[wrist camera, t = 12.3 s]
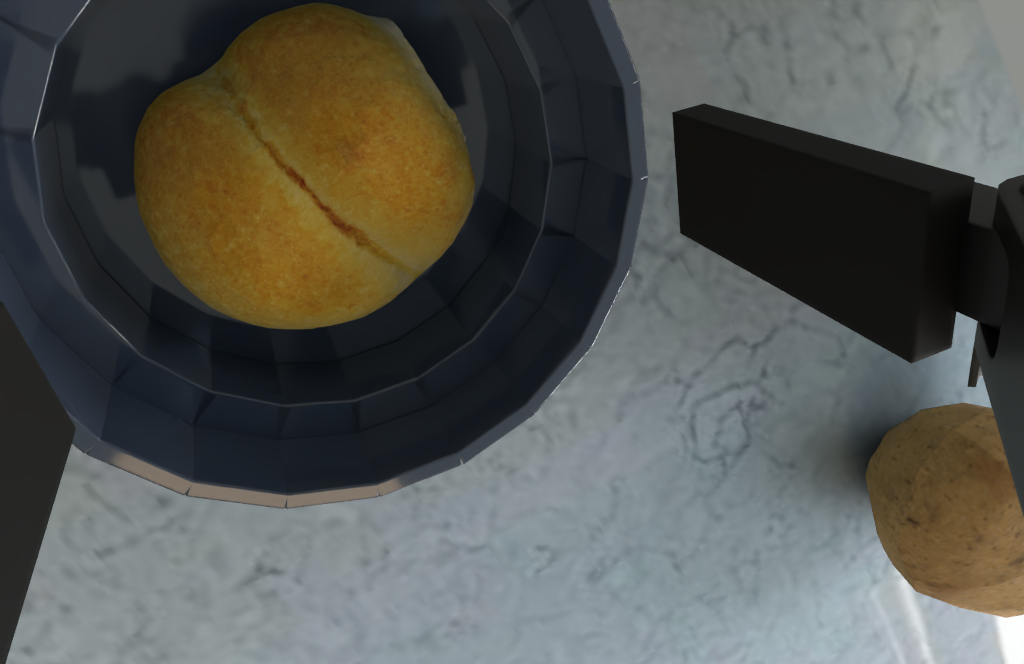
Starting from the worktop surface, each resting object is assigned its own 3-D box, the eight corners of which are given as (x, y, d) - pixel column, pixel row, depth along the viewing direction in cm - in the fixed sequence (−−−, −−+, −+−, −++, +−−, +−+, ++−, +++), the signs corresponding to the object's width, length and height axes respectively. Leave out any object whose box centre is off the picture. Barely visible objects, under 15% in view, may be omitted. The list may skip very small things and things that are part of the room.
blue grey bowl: (507, -201, 20) (612, -258, 15) (581, 311, 28) (666, 386, 23) (-161, -92, 16) (-319, -119, 11) (142, 465, 24) (129, 595, 19)
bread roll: (72, 162, 19) (45, 201, 16) (338, -49, 20) (367, -52, 16) (286, 362, 24) (301, 426, 21) (501, 189, 24) (551, 224, 21)
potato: (929, 313, 35) (1102, 393, 29) (1004, 454, 43) (1155, 544, 36) (782, 457, 36) (918, 569, 29) (882, 572, 43) (1008, 682, 37)
